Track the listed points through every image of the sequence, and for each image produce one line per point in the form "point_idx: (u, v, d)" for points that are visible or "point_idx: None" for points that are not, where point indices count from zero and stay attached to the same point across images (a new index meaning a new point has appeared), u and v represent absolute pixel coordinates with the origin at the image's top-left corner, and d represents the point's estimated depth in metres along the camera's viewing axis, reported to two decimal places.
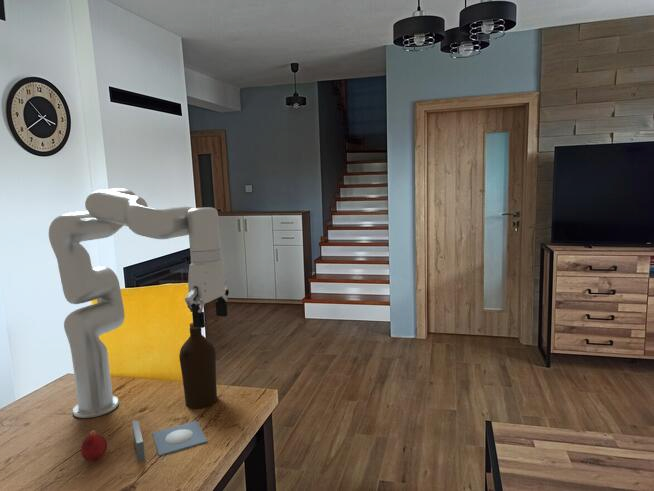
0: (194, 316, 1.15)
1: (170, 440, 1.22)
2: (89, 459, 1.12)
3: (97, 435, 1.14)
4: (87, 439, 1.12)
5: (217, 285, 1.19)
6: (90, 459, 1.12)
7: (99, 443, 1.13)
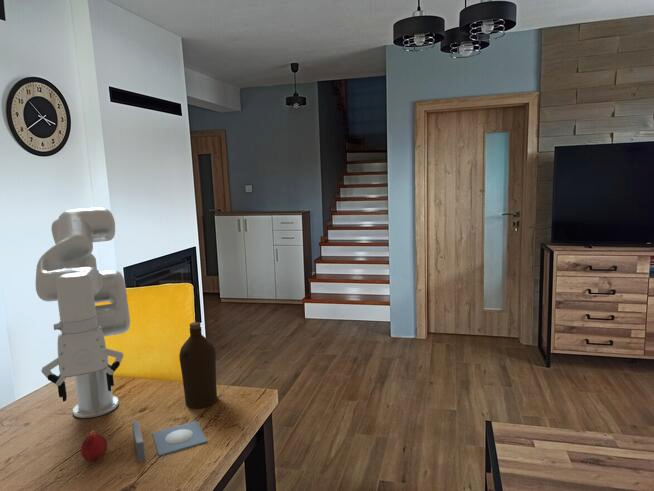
0: None
1: (170, 440, 1.22)
2: (89, 459, 1.12)
3: (97, 435, 1.14)
4: (87, 439, 1.12)
5: None
6: (90, 459, 1.12)
7: (99, 443, 1.13)
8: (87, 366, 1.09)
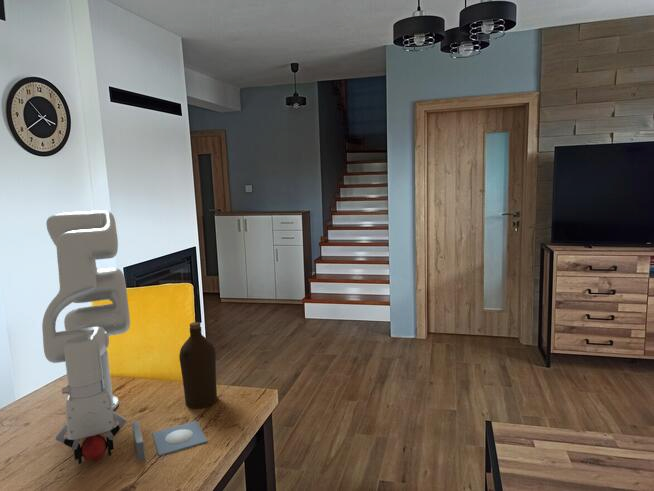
0: None
1: (170, 440, 1.22)
2: (89, 459, 1.12)
3: (97, 435, 1.14)
4: (87, 439, 1.12)
5: None
6: (90, 459, 1.12)
7: (99, 443, 1.13)
8: (94, 428, 1.11)
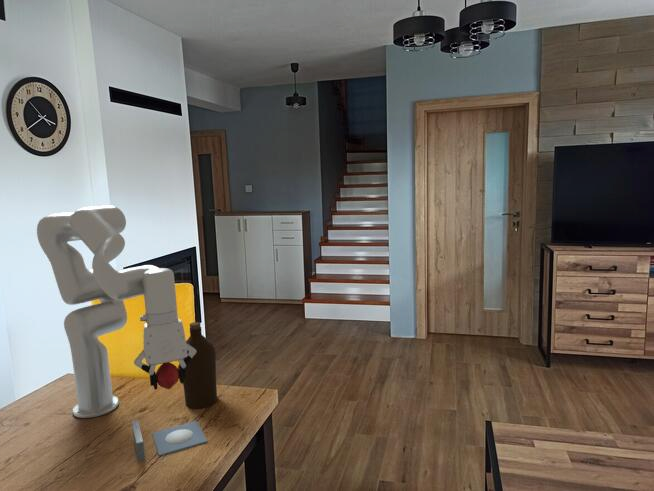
0: None
1: (170, 440, 1.22)
2: (164, 385, 1.18)
3: (170, 363, 1.20)
4: (162, 366, 1.19)
5: None
6: (165, 385, 1.18)
7: (173, 370, 1.19)
8: (170, 355, 1.17)
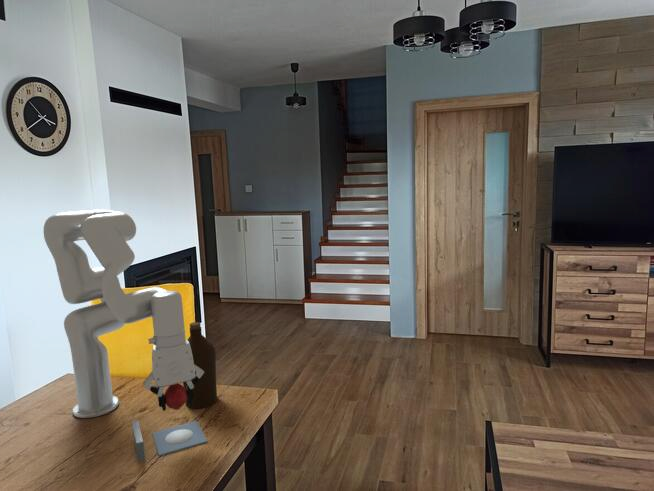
0: None
1: (170, 440, 1.22)
2: (173, 406, 1.20)
3: (178, 384, 1.22)
4: (170, 388, 1.20)
5: None
6: (173, 406, 1.20)
7: (181, 392, 1.20)
8: (178, 377, 1.19)
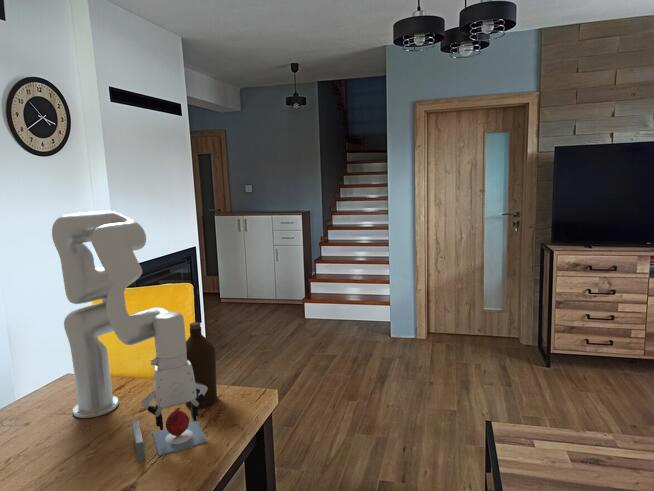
0: None
1: (170, 440, 1.22)
2: (174, 433, 1.21)
3: (181, 411, 1.23)
4: (172, 415, 1.22)
5: None
6: (175, 433, 1.21)
7: (183, 419, 1.22)
8: (180, 397, 1.20)
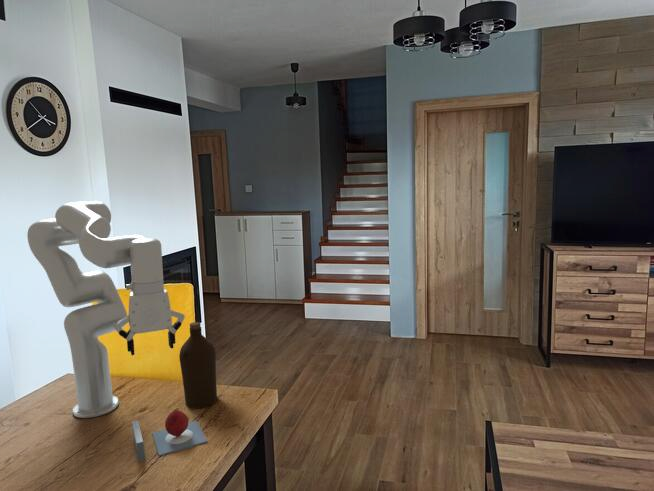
0: None
1: (170, 440, 1.22)
2: (174, 433, 1.21)
3: (180, 411, 1.23)
4: (171, 415, 1.22)
5: None
6: (175, 433, 1.21)
7: (182, 419, 1.22)
8: (154, 324, 1.19)
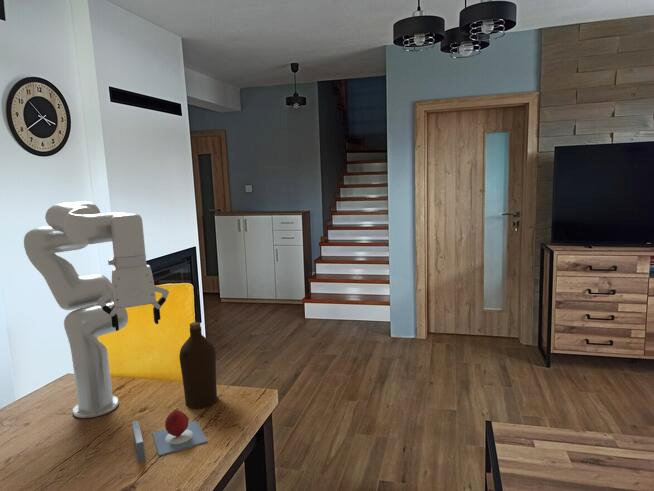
0: None
1: (170, 440, 1.22)
2: (174, 433, 1.21)
3: (180, 411, 1.23)
4: (171, 415, 1.22)
5: None
6: (175, 433, 1.21)
7: (182, 419, 1.22)
8: (138, 299, 1.19)
